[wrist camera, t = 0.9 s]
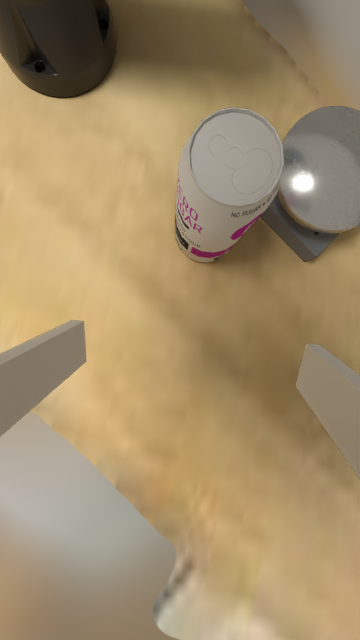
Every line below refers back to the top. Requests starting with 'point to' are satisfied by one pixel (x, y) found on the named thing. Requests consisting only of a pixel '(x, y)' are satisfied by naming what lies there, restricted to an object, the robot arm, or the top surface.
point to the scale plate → (323, 170)
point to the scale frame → (296, 232)
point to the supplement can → (225, 181)
